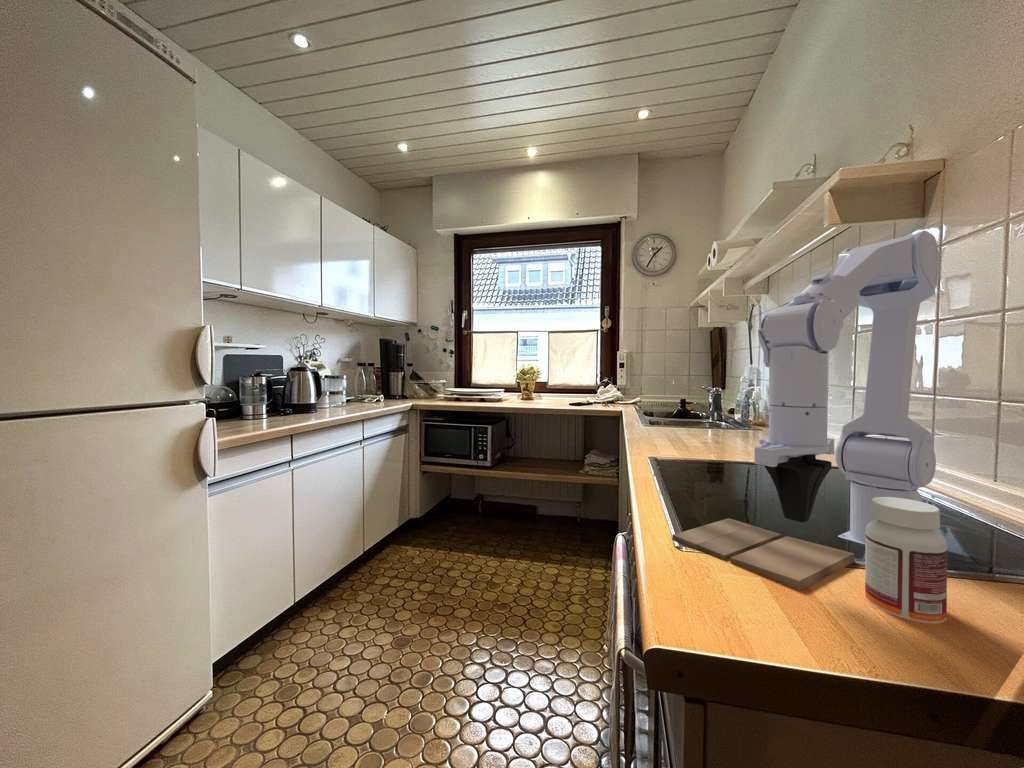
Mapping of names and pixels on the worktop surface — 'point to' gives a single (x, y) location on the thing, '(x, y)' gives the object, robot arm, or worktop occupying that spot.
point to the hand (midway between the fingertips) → (796, 519)
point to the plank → (794, 561)
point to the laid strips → (726, 538)
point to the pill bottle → (906, 560)
